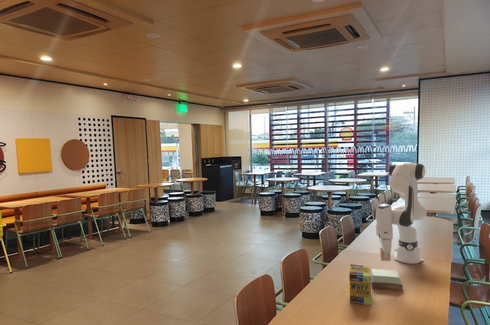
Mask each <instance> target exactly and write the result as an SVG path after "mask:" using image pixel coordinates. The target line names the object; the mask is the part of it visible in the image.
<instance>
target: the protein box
mask: <svg viewBox="0 0 490 325" xmlns="http://www.w3.org/2000/svg"><path fill="white" fill-rule="evenodd" d="M348 274H349V278H348V279H349V302H350V303H351V304H358V305H359V304H360V305H366V306H372V290H371V289H372V286H371V280H370V275H371V266H370V265H361V264H352V263H351V264H350V266H349V273H348Z"/></svg>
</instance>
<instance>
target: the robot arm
mask: <svg viewBox="0 0 490 325" xmlns="http://www.w3.org/2000/svg"><path fill="white" fill-rule="evenodd" d="M388 175H389V177H390V179H389V187H390V189H391V190H392V191H393V192H394V193H396V194H399V197H400V199H401V200H403V201H404V204H402V205H395V206H394V205H393V206H392V205H391V204H389V203H379V204H377V206H376V210H375V222H376V225H375V232H376V233H375V234H376V236H377V237H378V239H379V240H378V241H379V245H380V246H381V247H380V248H382V249H383V251H384V257H385V258H388V253H390V254H391V253H392V244H393V242H392V241H393V239H394V236H393V235H394V232H393V229H394V228H393V225H395V226H397V228H398V234H399V235H398V246H397V247H395V248H394V251H395V252H394V254H393V260H394V261H398V262H401V263H404V264H410V265H411V264H413V265H414V264H419V263H421V262H422V263H423V262H424V259H423V258H422V255H421V249H420V248H419V242H418V236H417V235H418V232H417V229H416V228H415V227H413V226H412V225H414V222H415V221H421V220H424V219H425V218H426V217H427V215H428V213H427V209H426V207H425V206H424V205H423V204H421V202H420V200H419V197H418V196H419V195H418V191H419V190H418V189H419V188H418V187H419V186H418V185H419V182H418V181H419V180H422V179H423V178H424V177H425V175H426V167H425V165H424V164H422V163H415V162H411V161H410V162H409V161H406V162H405V161H404V162H399V161H398V162H397V161H394V162H391V163H390V164H389V165H388Z"/></svg>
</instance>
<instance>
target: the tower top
mask: <svg viewBox="0 0 490 325" xmlns="http://www.w3.org/2000/svg"><path fill="white" fill-rule="evenodd" d="M371 275H372V281H373V282H378V283H390V284H399V278H400V276H399V273H398V270H395V269H394V270H393V269H378V268H371Z"/></svg>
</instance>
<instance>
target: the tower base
mask: <svg viewBox="0 0 490 325" xmlns="http://www.w3.org/2000/svg"><path fill="white" fill-rule="evenodd" d="M370 280H371V289H372V290H385V291H386V290H387V291H388V290H389V291H399V292H400V291H402V292H403V291H404V290H403V289H404V288H403V283H402V280H401V279H400V277H399V284H390V283H378V282H373V281H372V274H370Z"/></svg>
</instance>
